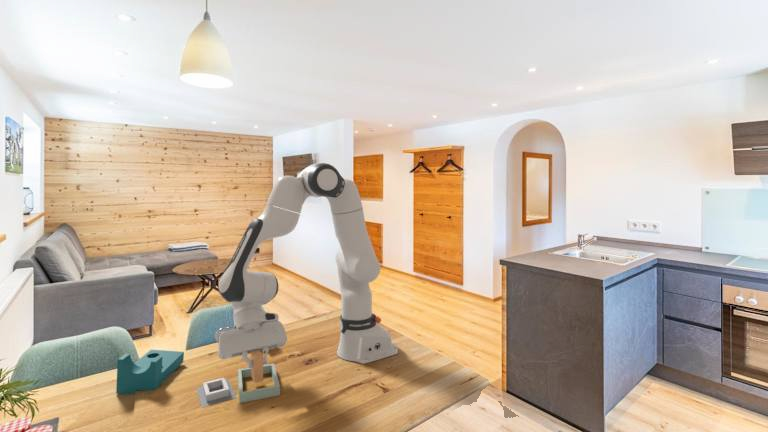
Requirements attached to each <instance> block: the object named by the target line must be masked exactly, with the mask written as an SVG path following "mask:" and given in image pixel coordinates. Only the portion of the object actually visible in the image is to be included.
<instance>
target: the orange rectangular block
mask: <svg viewBox="0 0 768 432" xmlns="http://www.w3.org/2000/svg"><path fill="white" fill-rule="evenodd" d="M263 357H264V355H263V352H262V351H260V350H258V351H253V352H251V353H250V360H253V363H254V366H253V367H252V368H251V379H252V380H253V383H254V384H257V383H260V382H264V374H263Z"/></svg>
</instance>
